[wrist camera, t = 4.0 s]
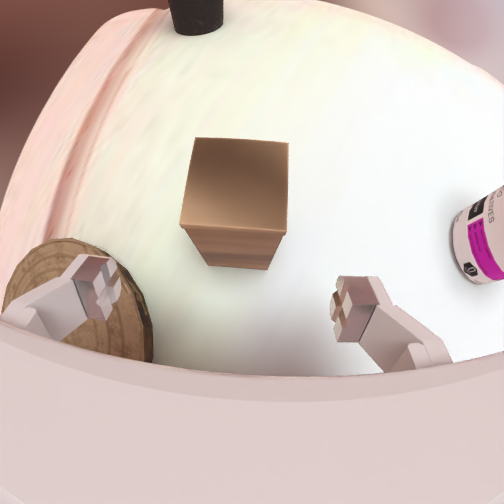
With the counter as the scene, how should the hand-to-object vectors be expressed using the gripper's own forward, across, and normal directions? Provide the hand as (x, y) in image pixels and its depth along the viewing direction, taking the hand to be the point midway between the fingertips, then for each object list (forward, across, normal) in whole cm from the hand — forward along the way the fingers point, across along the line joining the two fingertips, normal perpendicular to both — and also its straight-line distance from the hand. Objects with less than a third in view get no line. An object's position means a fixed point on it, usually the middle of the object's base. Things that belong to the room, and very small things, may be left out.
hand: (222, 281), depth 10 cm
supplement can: (+13, +25, -4) cm, 28 cm away
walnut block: (+12, 0, -5) cm, 13 cm away
